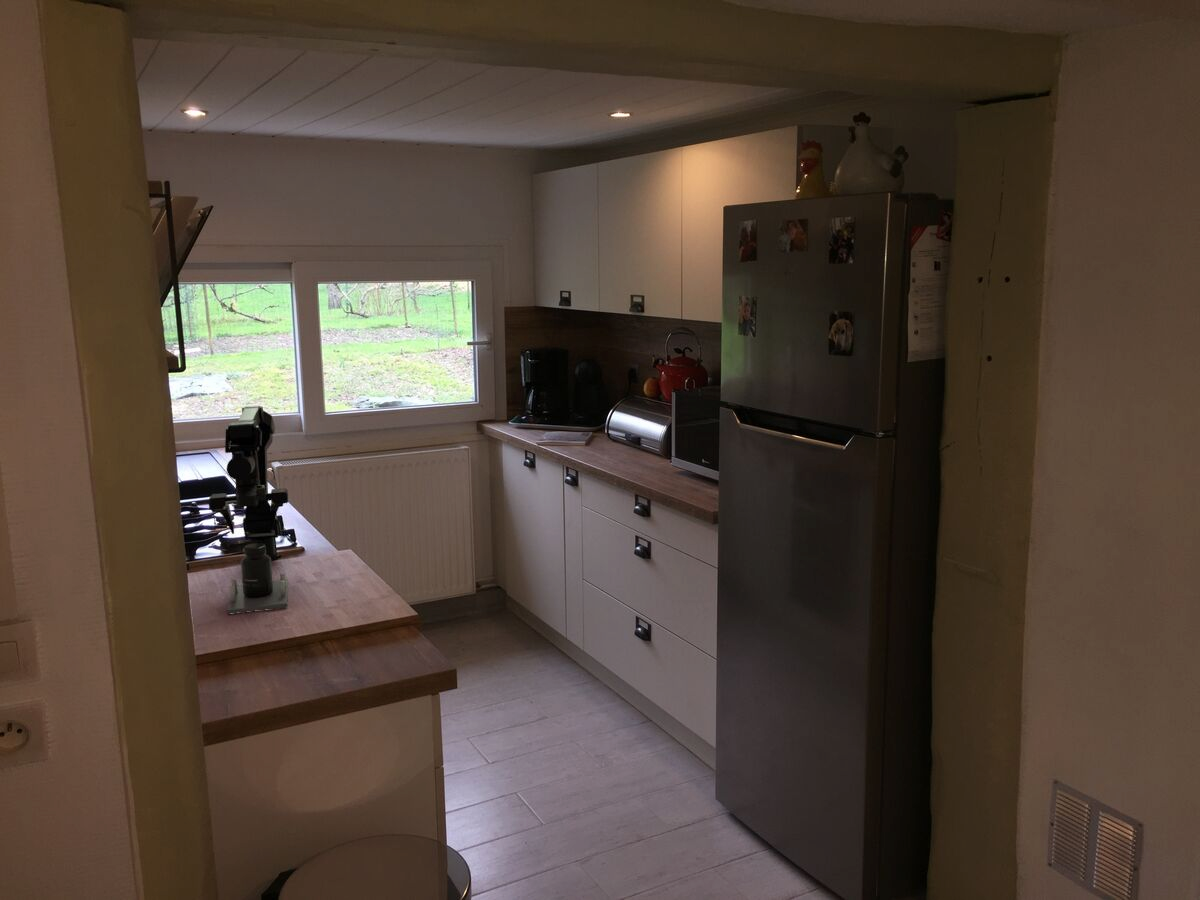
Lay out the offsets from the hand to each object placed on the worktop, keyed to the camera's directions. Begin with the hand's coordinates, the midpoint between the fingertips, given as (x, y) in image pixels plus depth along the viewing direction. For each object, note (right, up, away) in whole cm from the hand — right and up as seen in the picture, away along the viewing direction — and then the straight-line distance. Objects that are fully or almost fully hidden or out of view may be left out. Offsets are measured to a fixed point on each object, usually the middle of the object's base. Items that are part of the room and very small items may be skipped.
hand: (252, 531), depth 246 cm
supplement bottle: (+7, -14, -14) cm, 21 cm away
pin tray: (+7, -15, -14) cm, 21 cm away
